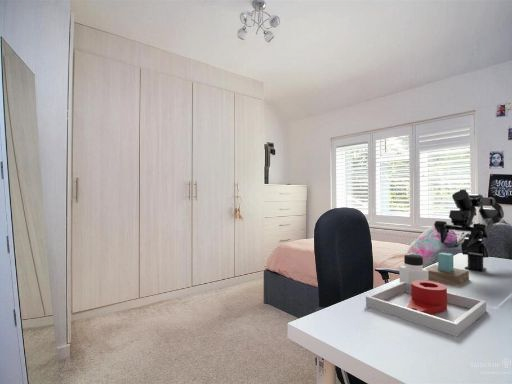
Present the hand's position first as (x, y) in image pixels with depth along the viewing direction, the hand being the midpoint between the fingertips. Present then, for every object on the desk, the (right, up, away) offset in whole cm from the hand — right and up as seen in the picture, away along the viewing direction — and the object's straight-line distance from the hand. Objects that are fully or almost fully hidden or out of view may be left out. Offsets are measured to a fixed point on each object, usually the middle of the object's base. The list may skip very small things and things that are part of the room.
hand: (454, 244), depth 118 cm
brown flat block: (-6, -14, -4) cm, 16 cm away
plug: (-6, -13, -4) cm, 15 cm away
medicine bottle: (-24, -14, -13) cm, 30 cm away
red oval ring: (-32, -14, -33) cm, 48 cm away
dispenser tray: (-31, -14, -32) cm, 47 cm away
